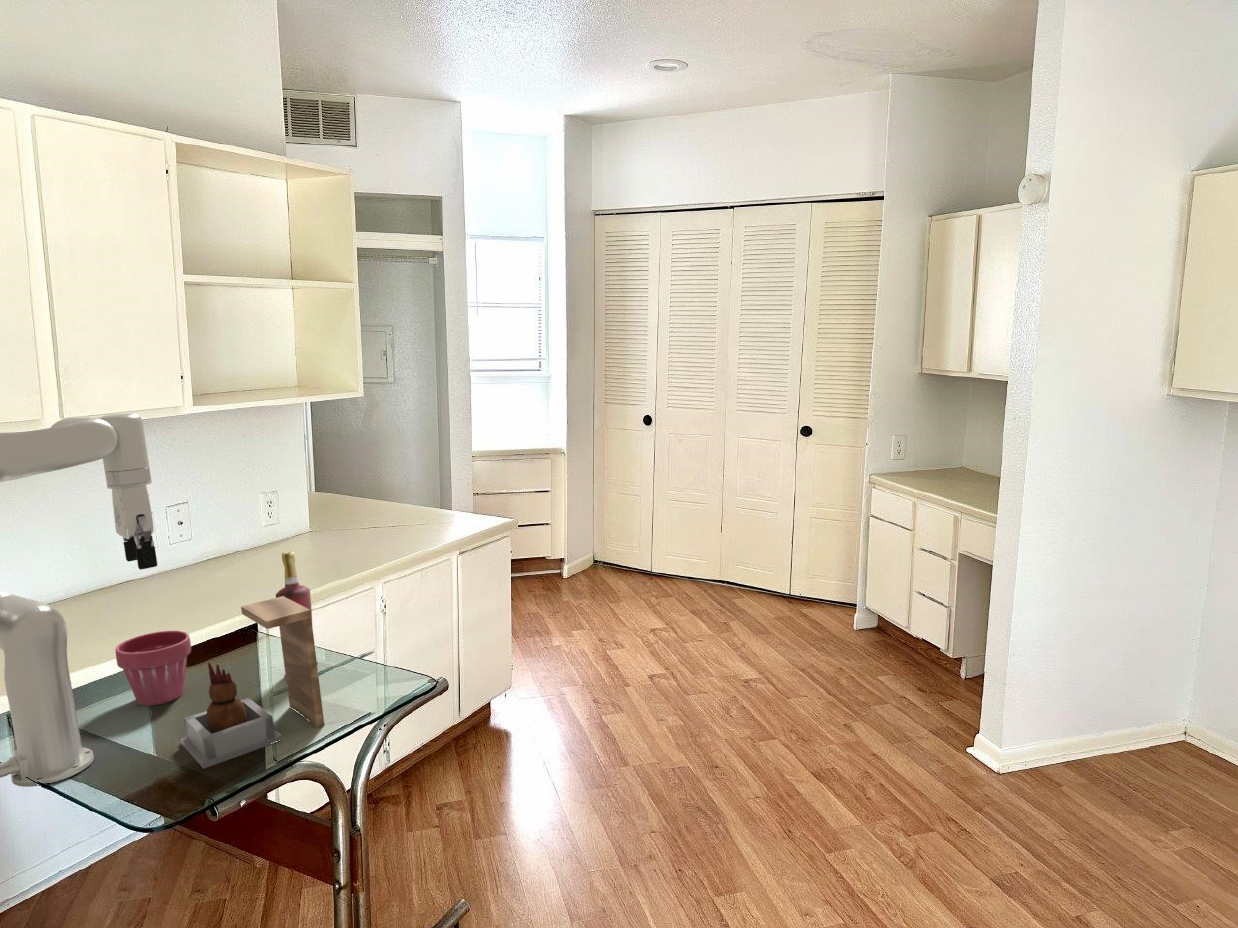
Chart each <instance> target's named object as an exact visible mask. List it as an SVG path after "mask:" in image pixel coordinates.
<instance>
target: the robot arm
mask: <svg viewBox="0 0 1238 928" xmlns="http://www.w3.org/2000/svg"><path fill="white" fill-rule="evenodd" d="M148 455H149V454H148V448H147V443H146V435H145V429H144V422H143V418H142V417H141V416H140V415H139V414H137V413H132V412H130V413H129V412H128V413H117V414H109V415H104V416H101V417H67V418H63V419H60V420H58V421H56V422H55V423H52V425H51V427H47V428H42V429H35V430H27V431H14V432H13V431H11V432H9V431H8V432H7V431H6V432H0V483H3V482H8V481H15V480H20V479H23V478H29V477H31V476H35V475H41V474H46V473H50V472H56V471H61V470H65V469H69V468H74V467H77V466H80V465H84V464H89V463H93V462H96V461H99V460H102V462H103V463H102V464H103V468H104V469H103V470H104V475H105V481H106V488H107V489H109V490H111V491H112V492H111V494H112V495H111V497H112V498H111V499H112V508H113V509H112V510H113V517H114V527H115V533H116V534H118V535H119V537H120V536H121V537H122V540H123V548H124V554H125V555H124V556H125V560H126V561H127V562H129V563H130V562H134V561H137V568H138V569H139V570H140V571H141V570H146V569H152V568H156V567H157V566H158V559H157V553H156V547H155V546H156V545H155V542H154V538H153V536H152V535H153V534H154V533H155V530H154V529H155V528H154V520H153V518H154V517H153V514H152V512H153V511H152V508H151V507H152V506H151V501H150V497H149V496H150V495H149V492H148V487H147V485H150V484H152V475H151V470H150V464H149V463H150V462H149V461H150V460H149V457H148ZM66 624H67V623H66V621H65V619H64V617H63V616H62V614H61V612H60V611H59V610H57V609H56V608H55V607H54V606H52V605H49V604H47V603H45V602H41V601H38V600H34V599H32V598H31V599H30V598H26V597H23V596H19V595H15V594H12V593H9V592H5V591H2V590H0V650H1V651H2V652H3V655H4V667H3V668H4V669H3V670H4V671H3V672H4V674H3V675H4V686H5V692H6V697H7V700H8V705H9V706H8V707H9V711H10V716H11V717H10V718H11V722H12V723H11V724H12V728H13V735H14V739H15V745H16V750H15V751H14V752H13V753H14V756H12V757H8V760H6V761H3V762H0V779H1V778H5V777H7V776H10V779H11V782H12V784H13V785H15V786H18V787H24V788H25V787H27V788H29V787H37V786H41V785H37V784H36V783H34V782H33V781H35V782H38V781H41V782H44V783H50V784H53V783H57V782H59V781H62V780H65V779H68V778H70V777H73V776H74V775H77V774H78V773H80V772H82V771H83V770H85V769H87V768H88V767H89V766H90V765H91V764H92V763H93V761H94V760H95V756H94V752H93V750H91V749H90V748H88V747H83V745H82V741H81V740H82V738H81V734H80V733H81V732H80V726H79V723H78V722H79V721H78V717H77V711H76V704H75V699H74V694H73V693H74V692H73V686H72V680H71V676H70V669H69V668H70V667H69V661H68V628H67V625H66ZM26 777H28V778H30V779H31V780H33V781H31V780H30V779H28V778H26Z"/></svg>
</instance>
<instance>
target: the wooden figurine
mask: <svg viewBox="0 0 1238 928" xmlns="http://www.w3.org/2000/svg"><path fill="white" fill-rule="evenodd" d="M207 665H208V666H207V667H208V673H209V674H208V675H209V680H210V681H209V682H210V685H209V689H208V695H209V698H210V700H211V701H210V703H209V704H208V706H207V708H206V709H207V710H206V711H207V723H208V727H209V729H210V731H211V733H212V734H213V733H216V732H219V731H222V730H224V729H227V728H230V727H233V726H236V725H239V724H242V723H245V722H246V709H245V706H244V704H243V703H242V701H240V700H241V699H239V698H238V697H237V694H238V687H237V684H236V682H235V681H234V680H233V678H232V677H231V674H230V673H231V672H228V673H227V672H226V670H225V668H224V669H222V670H221V669H220V664H216V667H215V668H216V670H214V668H213V667H212V664H211V662H207ZM226 673H227V674H226Z"/></svg>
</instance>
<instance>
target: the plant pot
mask: <svg viewBox="0 0 1238 928" xmlns="http://www.w3.org/2000/svg"><path fill="white" fill-rule="evenodd" d="M114 650H115V659H116V665H117V667H118V668H120V669H123V673H124V675H125V677H126V679H127V682H128V684H129V687H130V688H131V691H132V693H133V696H134V698H135V700H136V703H137V704H138V705H141V706H149V707H150V706H157V705H162V704H166V703H169V702H172V701H175V700H176V699H178V698H180V697H182V695H183V694H184V691H185V682H186V674H187V673H186V672H187V664H188V663H187V662H188V656H189V655H190V654H191V652H192V644H191V638H190V635H189V633H187V632H186V631H181V630H163V631H155V632H151V633H150V632H149V633H145V634H142V635H138V636H135V637H132V638H129V639H127V640H125V641H123V642H121V643H119V644H118V645H116V647H115V649H114Z"/></svg>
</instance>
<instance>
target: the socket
mask: <svg viewBox="0 0 1238 928" xmlns="http://www.w3.org/2000/svg"><path fill="white" fill-rule="evenodd" d="M239 700H240V701H242V703H243V704H244V706H245V709H246V722H245V723H242V724H239V725H236V726H233V727H230V728H227V729H224V730H222V731H219V732H216V733H213V734H212V733H211V731H210V729H209V727H208V723H207V710H205V711H202V712H199V713H195V714H193V715H190V716H186V717H184V718H183V720H184V728H185V735H186V737H182V738H180V744H181V745H182V747H183V748H184V749H185V750H186V751H187V752H188V753H189V755H191V757H193V759H194V760H195V761H196V763H198V764H199V766H201V768H202V769H208V768H209V767H212V766H215V765H218V764H221V763H223V762H226V761H230V760H231V759H234V758H237V757H240V756H242V755H246V754H248V753H251V752H255V751H257V750H259V748H260V749H263V748H265V747H267V746H266V745H268V746H270V745H269V744H271V743H273V742H275V741H279V740H281V739H282V740H283V738H282V735H281V733H279V732H278V731H277V730H276V729H275V726H274V717H273V716H272V715H271V714H270V713H269V712H267V711H266V710H265V709H264V708H262V707H261V706H260V705H258V704H257V702H255V701H254V700H253V699H251V698H250V697H246V698H243V699H239ZM279 742H280V741H279ZM271 745H272V744H271Z"/></svg>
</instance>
